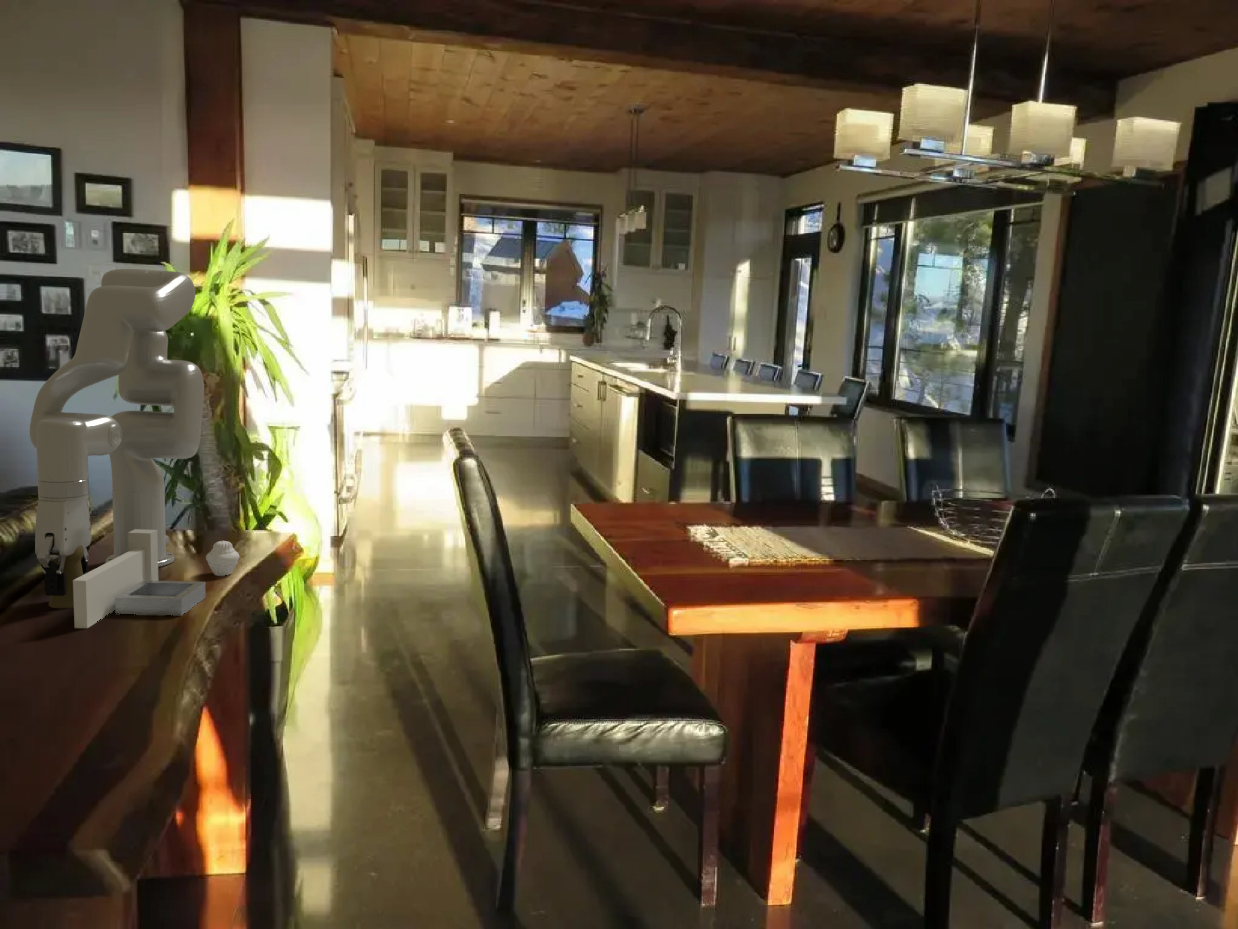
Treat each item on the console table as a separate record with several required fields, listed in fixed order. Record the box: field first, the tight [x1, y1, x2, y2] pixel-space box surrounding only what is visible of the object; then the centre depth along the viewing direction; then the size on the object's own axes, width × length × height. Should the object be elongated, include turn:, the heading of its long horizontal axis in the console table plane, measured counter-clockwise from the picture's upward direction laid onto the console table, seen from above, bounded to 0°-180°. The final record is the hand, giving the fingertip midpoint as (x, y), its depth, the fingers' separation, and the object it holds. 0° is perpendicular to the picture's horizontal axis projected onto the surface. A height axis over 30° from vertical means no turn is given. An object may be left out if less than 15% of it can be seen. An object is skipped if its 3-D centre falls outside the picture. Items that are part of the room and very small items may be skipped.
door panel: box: [73, 529, 159, 629], centre depth 159 cm, size 25×4×11 cm, turn 5°
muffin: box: [205, 540, 240, 577], centre depth 183 cm, size 6×6×7 cm
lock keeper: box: [114, 580, 206, 617], centre depth 161 cm, size 11×11×3 cm
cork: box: [48, 545, 84, 609], centre depth 159 cm, size 6×6×11 cm
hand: (67, 588), depth 159 cm, fingers open, 6 cm apart
